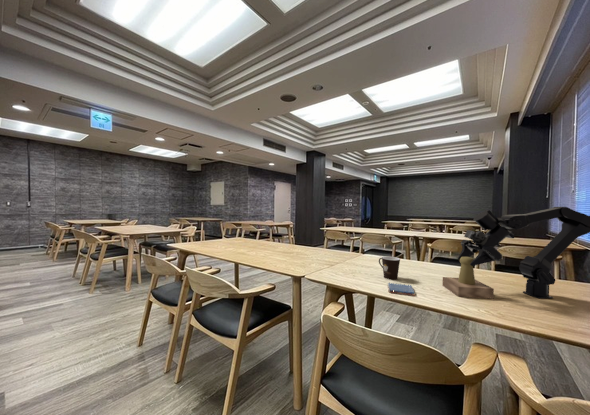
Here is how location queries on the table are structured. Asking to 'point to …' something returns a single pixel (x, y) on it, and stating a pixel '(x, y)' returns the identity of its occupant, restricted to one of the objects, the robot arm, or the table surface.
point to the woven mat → (401, 289)
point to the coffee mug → (390, 267)
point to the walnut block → (468, 288)
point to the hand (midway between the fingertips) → (464, 262)
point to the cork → (466, 271)
